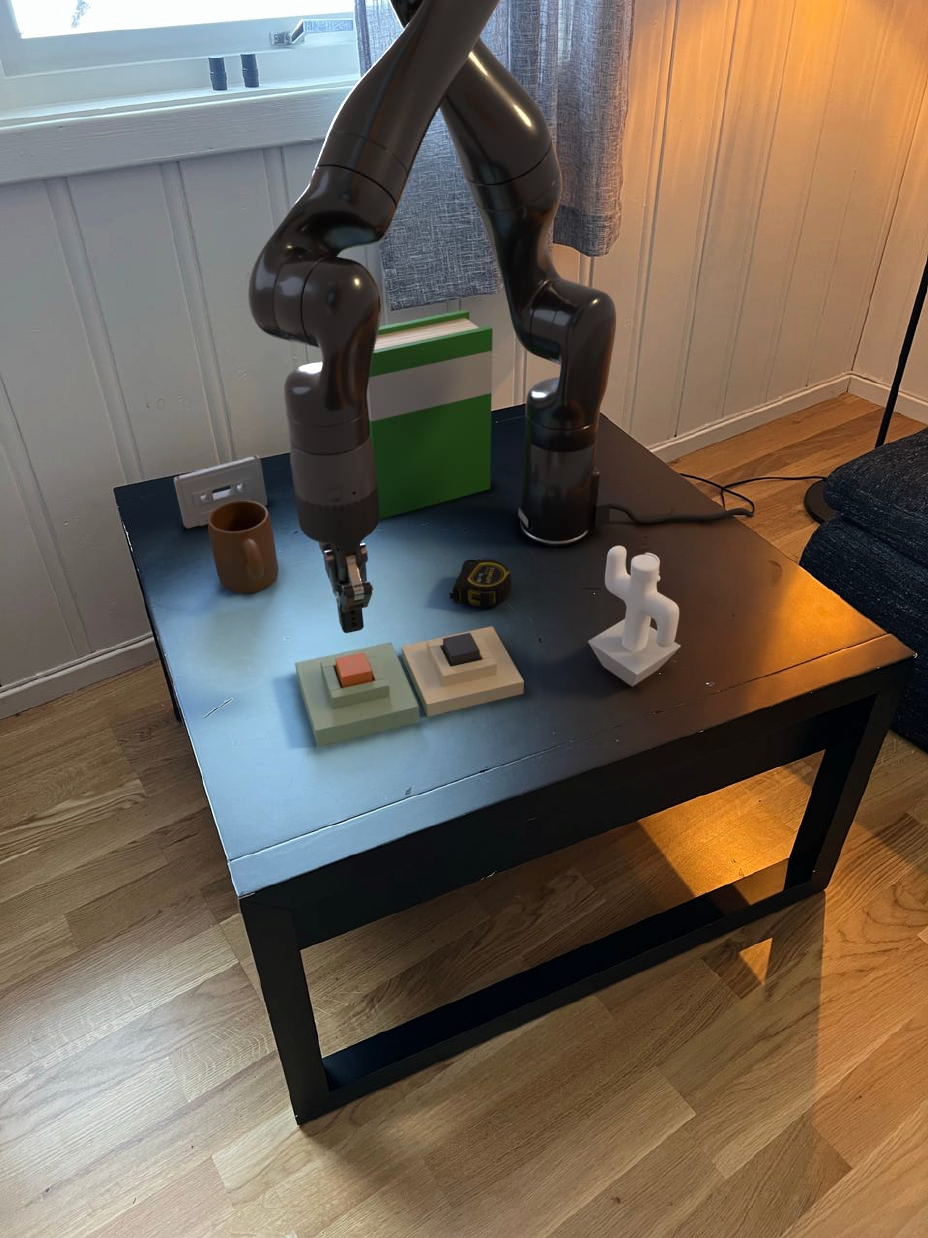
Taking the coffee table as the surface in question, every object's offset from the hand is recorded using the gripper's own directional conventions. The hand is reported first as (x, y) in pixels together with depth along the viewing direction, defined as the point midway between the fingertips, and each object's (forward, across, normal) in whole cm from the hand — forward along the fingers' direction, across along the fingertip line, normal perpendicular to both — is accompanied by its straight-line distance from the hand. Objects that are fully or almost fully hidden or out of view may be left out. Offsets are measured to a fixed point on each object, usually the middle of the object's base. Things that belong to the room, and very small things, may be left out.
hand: (351, 627), depth 95 cm
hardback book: (+11, +39, -19) cm, 45 cm away
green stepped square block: (+10, 0, 0) cm, 10 cm away
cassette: (+10, +42, +9) cm, 44 cm away
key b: (+6, 0, 0) cm, 7 cm away
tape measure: (+10, +13, -18) cm, 25 cm away
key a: (+7, 0, -12) cm, 14 cm away
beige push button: (+10, 0, -12) cm, 15 cm away
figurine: (+11, -5, -30) cm, 32 cm away
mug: (+10, +24, +8) cm, 27 cm away
